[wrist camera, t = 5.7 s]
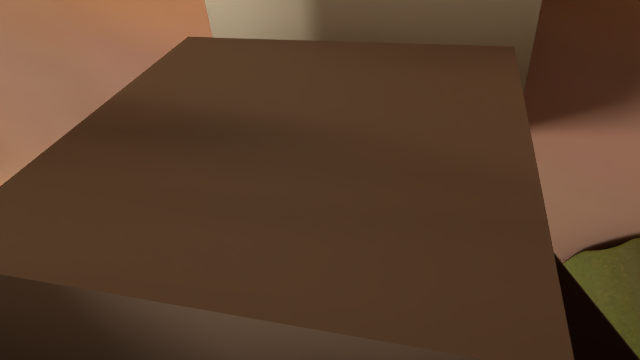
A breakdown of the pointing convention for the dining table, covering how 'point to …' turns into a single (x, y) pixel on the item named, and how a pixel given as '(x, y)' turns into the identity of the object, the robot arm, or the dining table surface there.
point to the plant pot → (613, 286)
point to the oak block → (383, 22)
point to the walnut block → (289, 213)
